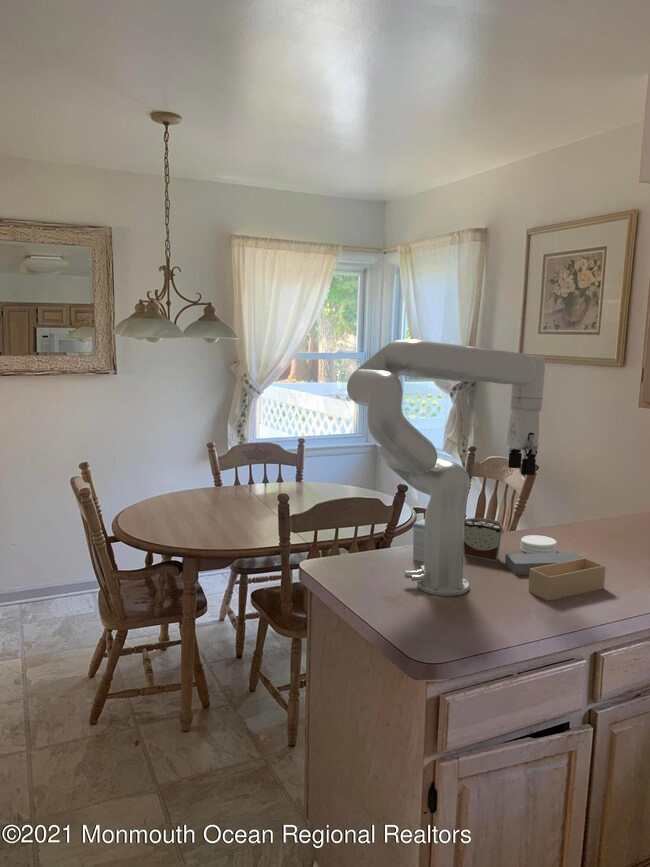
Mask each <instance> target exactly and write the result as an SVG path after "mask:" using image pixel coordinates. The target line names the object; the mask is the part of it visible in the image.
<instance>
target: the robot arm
mask: <svg viewBox="0 0 650 867" xmlns="http://www.w3.org/2000/svg"><path fill="white" fill-rule="evenodd" d="M545 372H546V360H545V357H543V356H540V355H533V354H532V355H531V354H530V355H529V354H527V353H523V352H514V351H506V350H498V349H497V350H496V349H489V348H482V347H478V346H477V347H476V346H472V345H471V346H469V345H461V344H454V343H453V344H452V343H444V342H439V341H430V340H429V341H428V340H423V339H398V340H393V341H391V342H389V343H387V344H386V345H385V346H383V347H382V348H381V349H379V350H378V351H377V352H376V353H375V354H374V355H373V356H371V357H370V358H369V359H368V360H366V361H365V362H364V363H363V364H361V365H360V366H359V367H358V368H357V369H355V370H354V371H353V372H352V373H351V375H350V377H349V378H348V380H347V384H346V393H347V394H348V397H349V398H350V399H351V400H352V401H353V402H354V403H356V404H358V405H360V406H365V407H367V426H368V430H369V433H370V436H371V437H372V438H373V439H374V441H376V442H377V444H379V453H380V457H381V459H382V461H383V462H384V463H385V464H386V466H387V467H388V468H389V469H390V470H392V471H393V472H394V473H395V474H396V475H398V476H399V477H400V478H401V479H402V480H403V481H405V483H407V484H408V486H411V487H412V488H413V489H415V490H416V491H418V492H421V493H423V494H426V495H428V496H430V497H429V501H428V504H427V506H426V508H425V513H424V519H425V539H424V562H423V565H420V568H418V569H417V570H411V569H408V570H404V579H411V582H416V585H417V587H418V588H419V589H420V590H421V591H422V592H425V593H427V594H431V595H434V596H439V597H452V596H453V597H454V596H455V597H456V596H460V595H464V594H465V593H467V592H469V589H470V583H469V580H467V579H465V578H464V556H465V555H464V520H465V519H466V516H465V515H466V504H467V499H468V495H469V491H470V486H471V483H470V482H471V480H470V476H469V473H468V471H467V470H466V468H464V467H463V466H462V465H461V464H458V463H457V462H456V461H452V460H448V459H445V458H440V457H438V452H437V448H436V447H435V445H434V444H433V443H432V441H431V440H430V439H428V438H427V437H426V436H425V434H423V433H422V432H421V431H419V430H418V429H417V428H416V427H415V426H414V425H413V424H411V421H409V420H408V419H407V418H406V417H405V415H404V413H403V410H402V409H403V408H402V404H403V403H402V402H403V386H402V382H401V381H400V379H399V377H400V376H403V377H413V378H423V379H424V378H425V379H434V380H441V381H442V380H444V381H454V382H461V383H462V382H466V383H476V382H478V383H494V384H500V385H511V397H510V398H511V399H510V415H509V416H510V417H509V420H508V429H507V435H506V445H507V446H508V447H509V448H508V463H507V465H508V468H509V469H521V471H520V472H521V475H523V476H534V475H535V473H536V472H535V471H536V463H537V454H538V449H539V438H540V437H539V436H540V434H539V433H540V412H542V411H543V410H542V408H543V406H542V405H543V398H544V397H543V396H544V387H545V386H544V385H545ZM521 451H522V452H521ZM522 456H523V457H522Z"/></svg>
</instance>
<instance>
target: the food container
mask: <svg viewBox="0 0 650 867" xmlns="http://www.w3.org/2000/svg"><path fill="white" fill-rule="evenodd" d="M504 533H505V530H504V527H503V524H502V523H501V522H500V521H499V520H495V519H490V518H483V517H482V518H481V517H472V518H471V517H470V518H465V520H464V556H467V557H472V558H478V559H483V560H488V561H494V562H497V561H498V560H499V558H498V557H499V552H500V544H501V539H502V538H501V537H502V535H504Z"/></svg>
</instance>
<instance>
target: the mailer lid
mask: <svg viewBox="0 0 650 867" xmlns="http://www.w3.org/2000/svg"><path fill="white" fill-rule="evenodd" d="M504 559H505V561H504V564H505V566H506V567H507V569H509V570H510V571H511V573H512V574H513V575H514V576H516V575H518V576H519V575H528V576H529V572H530V569H531V568H536V567H541V566H546V565H551V564H556V563H562V562H567V561H572V560H577V559H582V556H580V555H578V554H577V553H576V552H557V553H541V554H527V553H507V554H505V558H504Z"/></svg>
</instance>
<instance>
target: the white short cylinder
mask: <svg viewBox="0 0 650 867" xmlns="http://www.w3.org/2000/svg"><path fill="white" fill-rule="evenodd" d="M557 545H558V541H557V540H556V539H554V537H553V538H552V537H550V536H545V535H538V534H537V535H536V534H529V535H524V536H523V537H522V538H521V539H520V550H521V552H523V553H524V554H541V553H558V546H557Z"/></svg>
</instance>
